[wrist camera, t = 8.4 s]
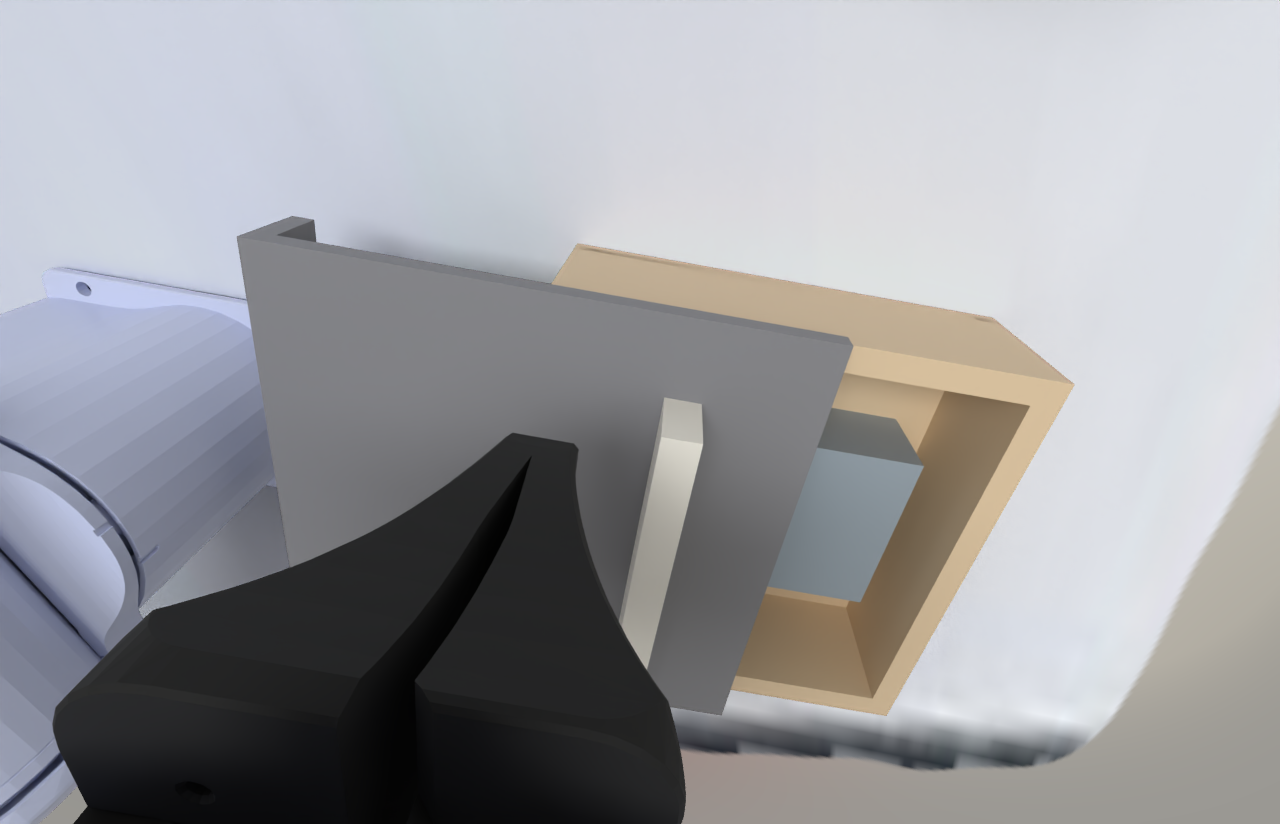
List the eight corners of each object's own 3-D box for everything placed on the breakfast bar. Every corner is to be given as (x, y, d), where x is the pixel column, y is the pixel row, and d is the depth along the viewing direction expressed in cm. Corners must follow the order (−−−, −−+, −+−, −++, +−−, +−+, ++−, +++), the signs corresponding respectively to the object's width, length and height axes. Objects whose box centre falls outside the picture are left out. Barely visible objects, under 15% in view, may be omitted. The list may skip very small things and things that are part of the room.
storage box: (542, 559, 27) (514, 653, 23) (577, 243, 20) (546, 290, 16) (855, 613, 27) (886, 715, 23) (992, 317, 21) (1074, 384, 16)
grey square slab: (335, 595, 24) (268, 694, 20) (292, 216, 17) (176, 258, 13) (718, 659, 24) (724, 770, 21) (833, 312, 17) (874, 382, 13)
